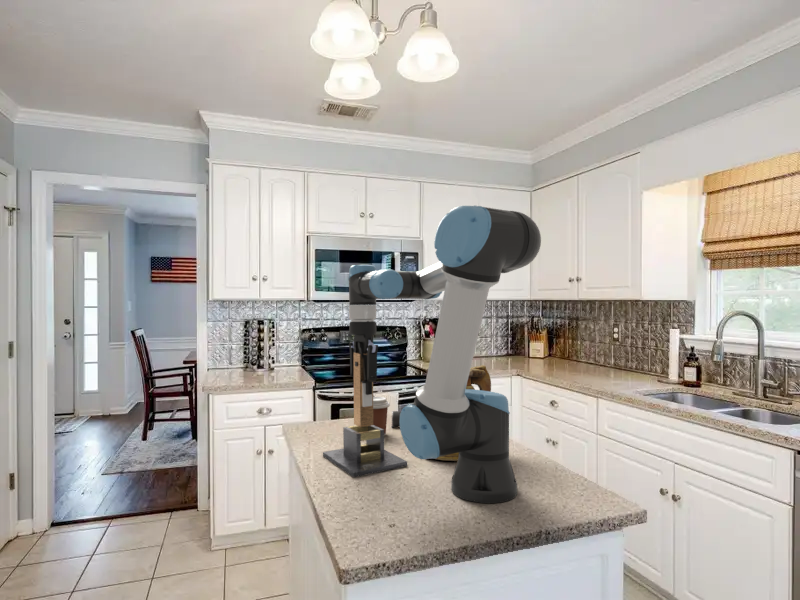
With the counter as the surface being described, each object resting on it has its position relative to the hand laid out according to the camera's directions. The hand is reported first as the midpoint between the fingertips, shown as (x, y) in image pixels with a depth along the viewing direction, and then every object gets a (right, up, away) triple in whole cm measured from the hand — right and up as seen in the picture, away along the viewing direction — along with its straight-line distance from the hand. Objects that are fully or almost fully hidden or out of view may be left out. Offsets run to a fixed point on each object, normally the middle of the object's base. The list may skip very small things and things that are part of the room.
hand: (363, 404), depth 134 cm
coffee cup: (+2, -16, +27) cm, 32 cm away
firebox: (0, -16, 0) cm, 16 cm away
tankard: (+27, -16, +8) cm, 32 cm away
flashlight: (+15, -16, +37) cm, 43 cm away
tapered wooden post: (0, -6, 0) cm, 6 cm away
